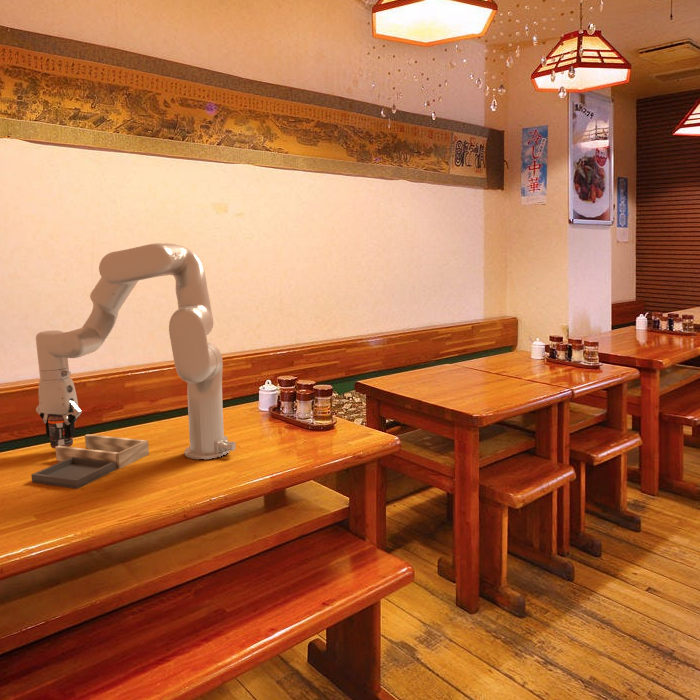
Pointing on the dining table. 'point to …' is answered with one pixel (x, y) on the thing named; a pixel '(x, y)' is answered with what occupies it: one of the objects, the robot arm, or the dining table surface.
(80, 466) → the tray
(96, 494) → the dining table surface
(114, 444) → the bay
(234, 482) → the dining table surface
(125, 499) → the dining table surface
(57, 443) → the supplement bottle
